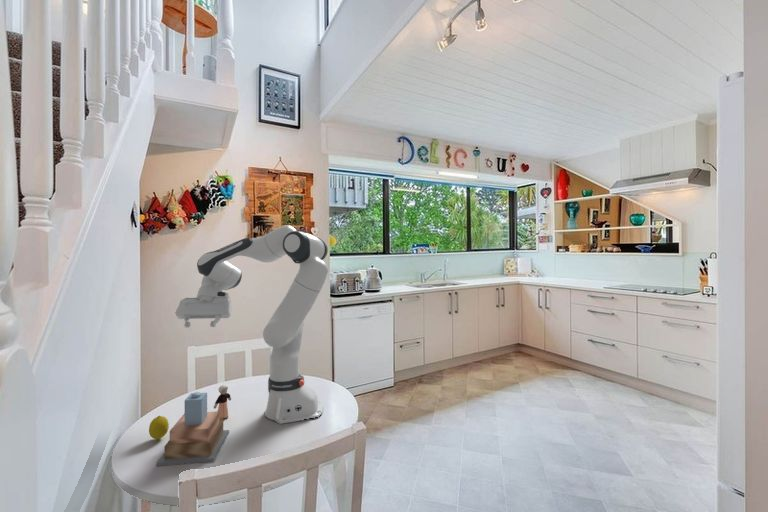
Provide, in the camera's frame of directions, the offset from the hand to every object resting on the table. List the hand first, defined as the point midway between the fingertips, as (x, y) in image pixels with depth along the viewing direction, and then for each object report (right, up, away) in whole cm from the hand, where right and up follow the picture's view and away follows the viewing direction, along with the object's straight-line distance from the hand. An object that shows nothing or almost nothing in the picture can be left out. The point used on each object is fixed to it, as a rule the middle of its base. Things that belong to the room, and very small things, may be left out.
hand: (199, 326), depth 133 cm
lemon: (-3, -34, -19) cm, 39 cm away
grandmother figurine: (+11, -34, -4) cm, 36 cm away
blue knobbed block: (+12, -25, -24) cm, 37 cm away
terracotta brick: (+12, -33, -24) cm, 42 cm away
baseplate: (+12, -34, -24) cm, 43 cm away
